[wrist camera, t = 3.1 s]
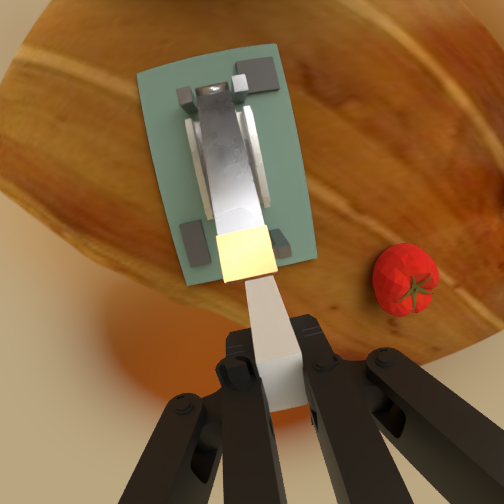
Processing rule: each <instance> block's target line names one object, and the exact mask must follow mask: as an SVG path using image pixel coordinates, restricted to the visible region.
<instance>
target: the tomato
mask: <svg viewBox="0 0 504 504" xmlns="http://www.w3.org/2000/svg"><path fill="white" fill-rule="evenodd" d="M438 281H439V273H438V269H437V266H436V264H435V263H434V261H433V260H432V259H431V258H430V257H429V256H428V255H427V254H426V253H425V252H424V251H423V250H422V249H421V248H420V247H418V246H415V245H412V244H407V243H402V244H396V245H392V246H391V247H389V248H388V249H386V250H385V251H384V252H383V253H382V254H381V255H380V256H379V257H378V259H377V261H376V263H375V265H374V270H373V275H372V283H373V287H374V290H375V296H376V300H377V301H378V303H379V304H380V306H381V307H382V309H383V310H384V311H386V312H387V313H389V314H392V315H394V316H398V317H402V316H406V315H408V314H409V313H411V312H412V313H418V312H420V311H422V310H424V309H425V308H427V307H428V305H429V303H430V302H431V294H434V293H432V289H433V288H434V287H436V286H437V285H438Z"/></svg>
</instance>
